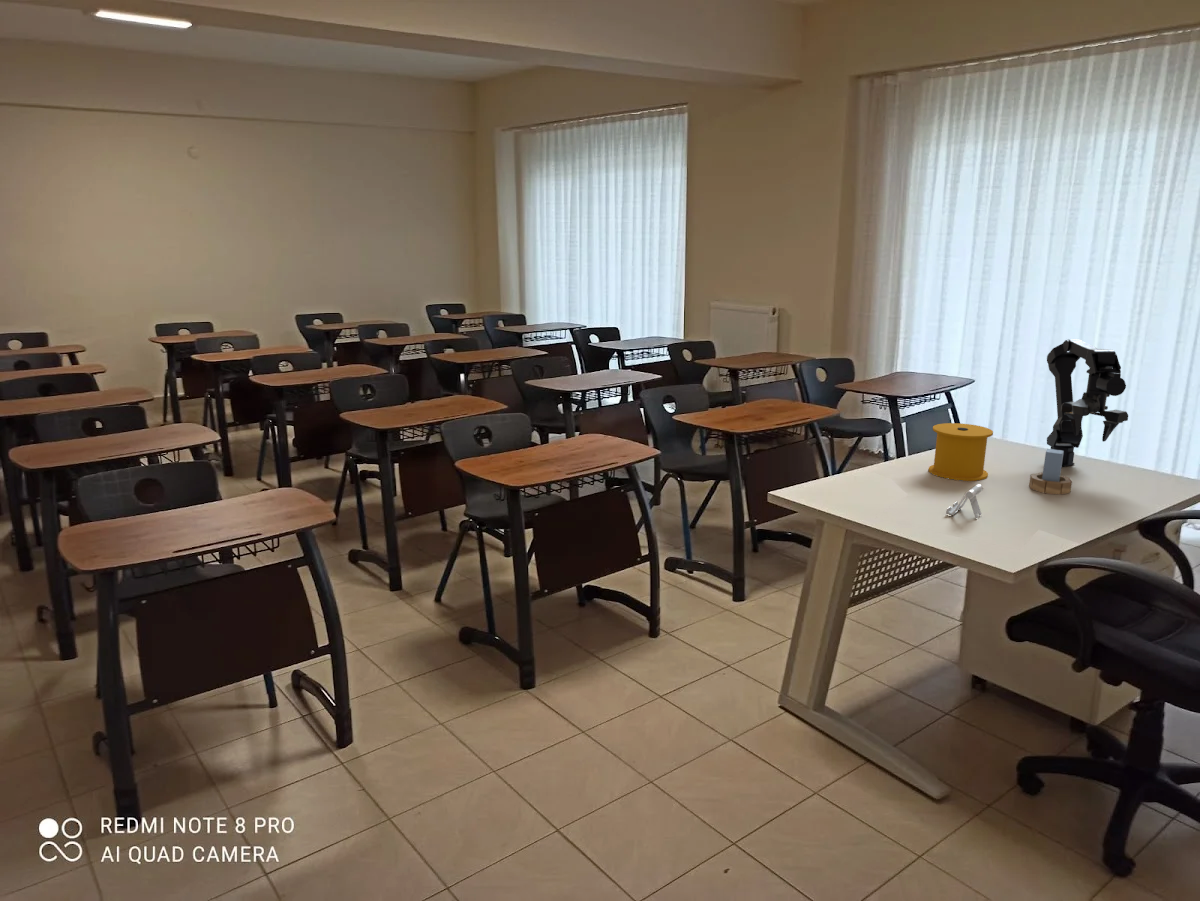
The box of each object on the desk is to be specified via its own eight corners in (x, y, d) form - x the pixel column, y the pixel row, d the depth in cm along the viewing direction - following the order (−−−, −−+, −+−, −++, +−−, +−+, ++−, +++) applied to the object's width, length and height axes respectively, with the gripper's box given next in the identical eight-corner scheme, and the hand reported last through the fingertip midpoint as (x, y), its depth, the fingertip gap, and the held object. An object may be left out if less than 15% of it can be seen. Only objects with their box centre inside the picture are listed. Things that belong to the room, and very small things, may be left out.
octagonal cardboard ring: (1022, 486, 262) (1023, 475, 261) (1045, 481, 267) (1046, 471, 266) (1054, 496, 253) (1055, 484, 252) (1077, 491, 257) (1078, 480, 256)
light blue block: (1042, 485, 263) (1047, 448, 259) (1058, 488, 260) (1063, 450, 257) (1040, 489, 259) (1045, 451, 256) (1057, 491, 257) (1062, 453, 253)
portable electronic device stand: (955, 508, 242) (958, 480, 240) (984, 514, 237) (987, 485, 235) (945, 516, 236) (948, 487, 234) (974, 522, 231) (978, 492, 229)
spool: (997, 481, 267) (1003, 435, 264) (940, 481, 268) (945, 435, 264) (974, 465, 285) (979, 422, 281) (920, 465, 285) (924, 422, 281)
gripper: (1053, 387, 268) (1046, 434, 272) (1110, 397, 252) (1102, 447, 256) (1075, 384, 273) (1068, 431, 277) (1133, 394, 257) (1124, 443, 261)
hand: (1089, 438), depth 268 cm, fingers open, 9 cm apart
